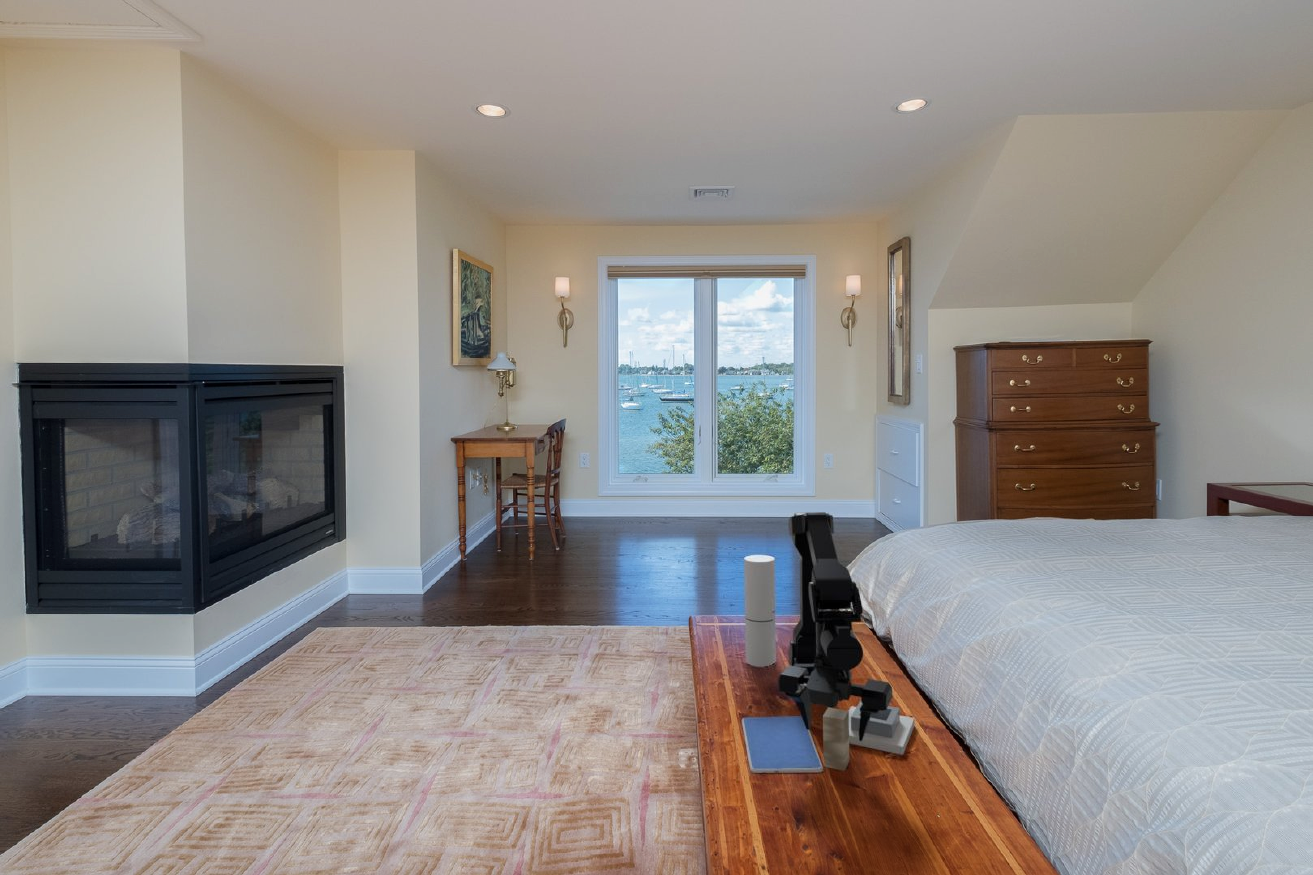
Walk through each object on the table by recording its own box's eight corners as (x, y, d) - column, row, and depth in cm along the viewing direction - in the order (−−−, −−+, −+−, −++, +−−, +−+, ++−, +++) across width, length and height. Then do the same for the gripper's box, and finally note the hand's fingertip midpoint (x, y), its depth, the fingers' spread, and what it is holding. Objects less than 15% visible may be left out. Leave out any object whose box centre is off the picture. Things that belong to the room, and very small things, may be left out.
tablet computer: (824, 775, 122) (824, 767, 122) (750, 776, 122) (750, 768, 122) (804, 721, 141) (804, 715, 141) (741, 722, 142) (740, 716, 142)
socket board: (835, 740, 132) (835, 719, 132) (851, 713, 143) (851, 693, 143) (902, 754, 127) (902, 733, 126) (914, 725, 137) (914, 705, 137)
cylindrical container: (780, 658, 172) (779, 556, 170) (769, 668, 166) (767, 563, 164) (752, 653, 176) (751, 553, 174) (741, 663, 170) (739, 560, 168)
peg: (823, 766, 124) (822, 715, 123) (828, 756, 127) (828, 707, 126) (844, 770, 122) (843, 719, 121) (849, 760, 125) (848, 711, 125)
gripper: (765, 654, 121) (767, 743, 122) (878, 673, 111) (879, 769, 113) (786, 633, 130) (788, 716, 131) (892, 649, 121) (893, 737, 122)
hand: (834, 734), depth 124 cm, fingers open, 9 cm apart
